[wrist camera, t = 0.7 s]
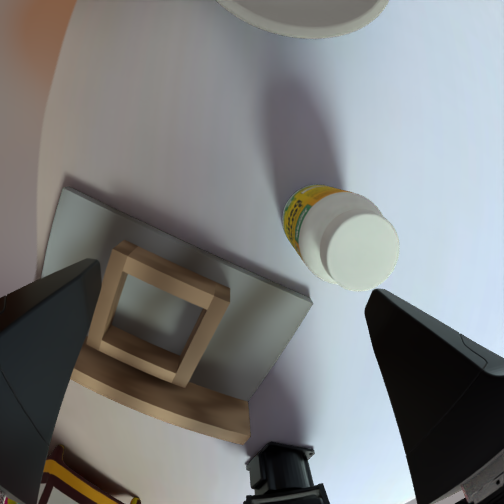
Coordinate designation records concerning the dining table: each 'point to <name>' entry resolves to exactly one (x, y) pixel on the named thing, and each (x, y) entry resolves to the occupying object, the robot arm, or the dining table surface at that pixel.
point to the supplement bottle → (341, 237)
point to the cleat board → (172, 320)
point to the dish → (306, 15)
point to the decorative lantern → (68, 485)
